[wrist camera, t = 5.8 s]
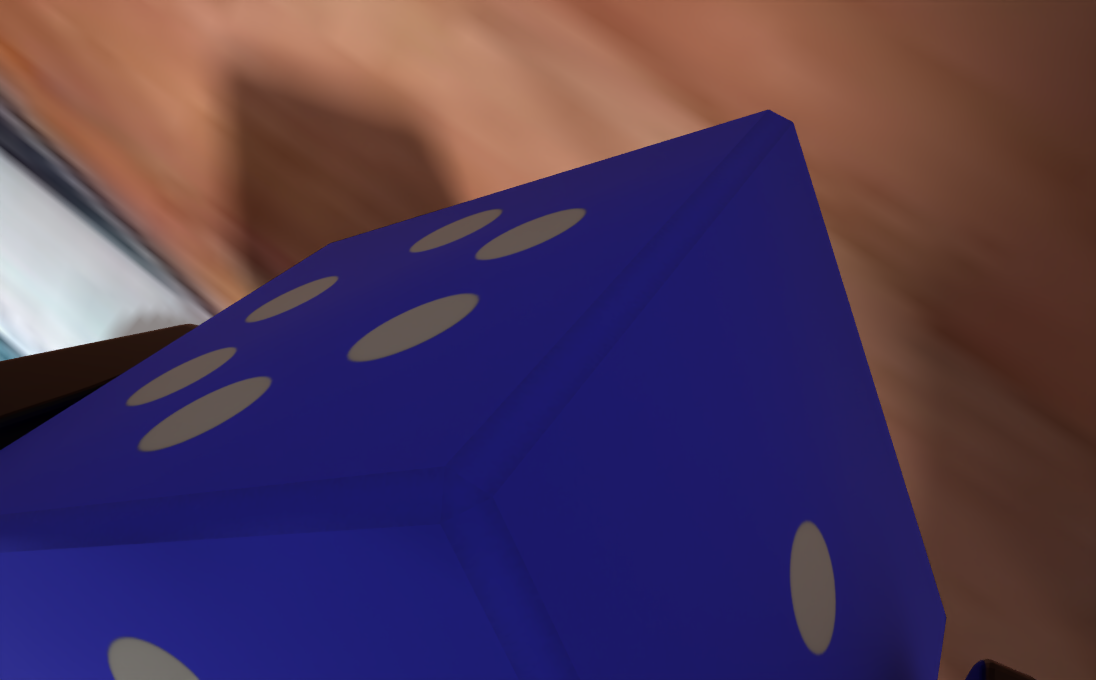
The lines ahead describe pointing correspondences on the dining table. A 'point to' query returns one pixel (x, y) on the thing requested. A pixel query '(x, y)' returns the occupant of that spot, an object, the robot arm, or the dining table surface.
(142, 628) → the die
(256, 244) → the dining table surface
